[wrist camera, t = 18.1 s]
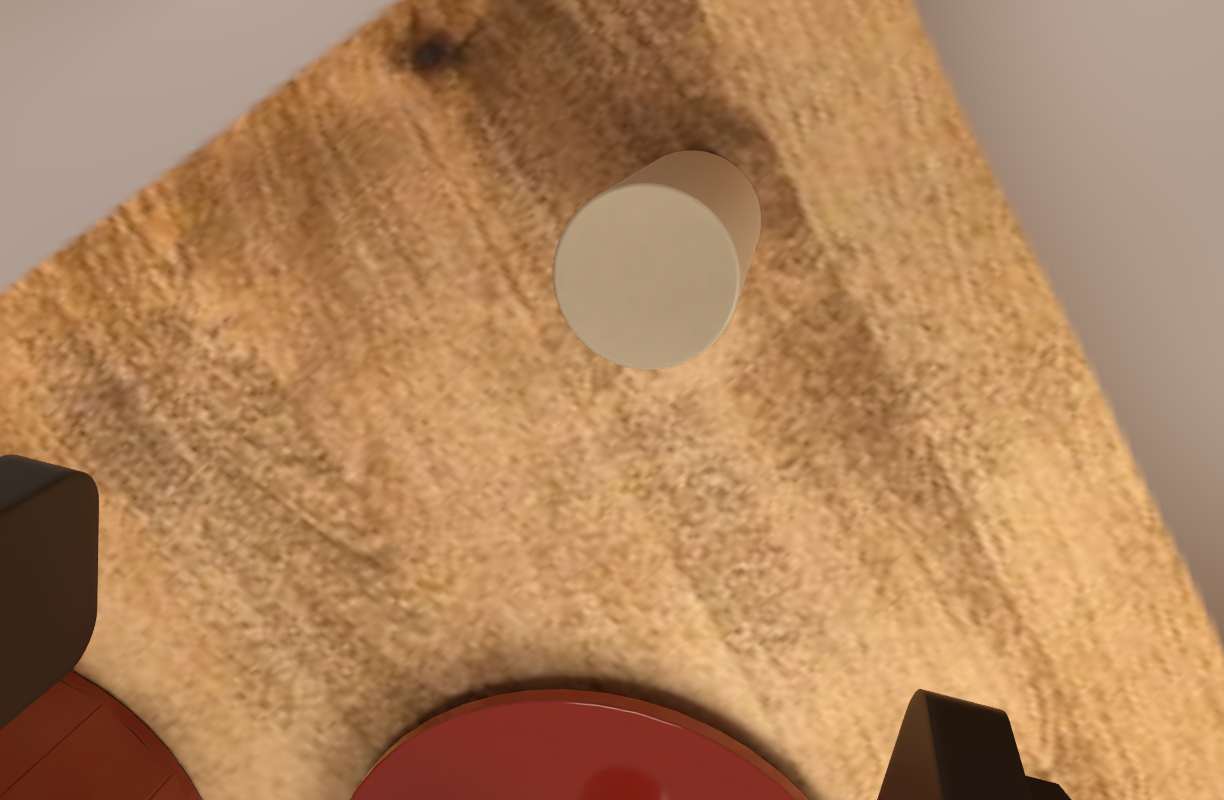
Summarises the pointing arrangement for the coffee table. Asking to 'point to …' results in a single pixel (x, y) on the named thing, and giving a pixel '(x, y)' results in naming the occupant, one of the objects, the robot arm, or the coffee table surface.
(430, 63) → the coffee table surface
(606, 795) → the lid
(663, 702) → the coffee table surface
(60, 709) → the pot
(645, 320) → the tube
